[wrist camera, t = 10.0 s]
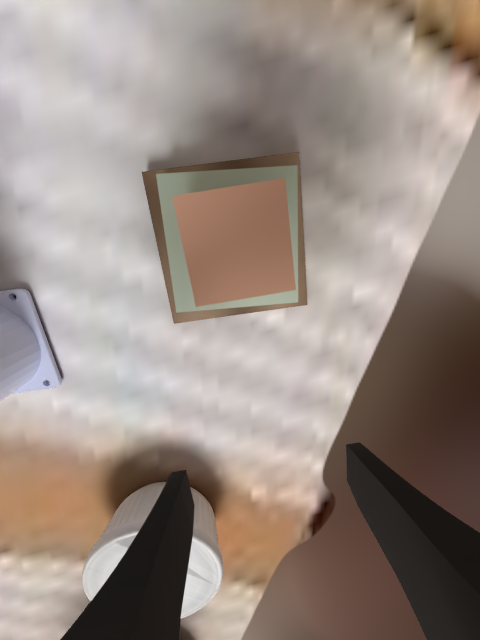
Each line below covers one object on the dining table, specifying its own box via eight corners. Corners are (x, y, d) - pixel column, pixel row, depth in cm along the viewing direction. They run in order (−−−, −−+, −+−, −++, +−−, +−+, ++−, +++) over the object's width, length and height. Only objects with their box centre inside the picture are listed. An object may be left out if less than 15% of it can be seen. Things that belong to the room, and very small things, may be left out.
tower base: (178, 316, 20) (173, 323, 18) (150, 180, 17) (141, 171, 16) (299, 299, 20) (307, 304, 18) (290, 162, 18) (299, 152, 16)
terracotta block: (204, 289, 16) (196, 307, 11) (188, 213, 14) (172, 196, 10) (273, 277, 16) (296, 290, 11) (264, 201, 15) (285, 177, 10)
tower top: (181, 305, 18) (176, 312, 16) (164, 183, 16) (155, 173, 14) (290, 296, 18) (298, 302, 16) (288, 175, 16) (297, 165, 14)
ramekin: (229, 473, 24) (230, 533, 19) (217, 554, 27) (215, 625, 22) (109, 467, 23) (76, 529, 18) (110, 552, 26) (82, 626, 21)
